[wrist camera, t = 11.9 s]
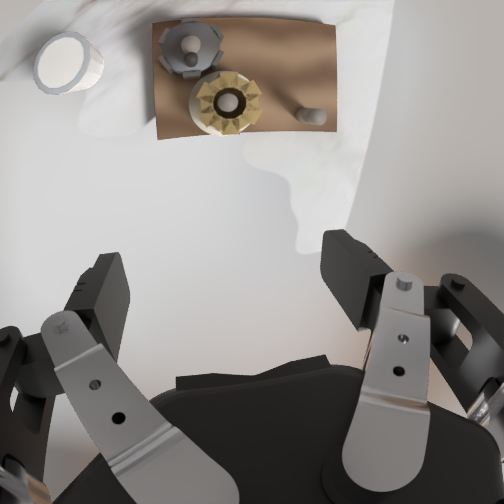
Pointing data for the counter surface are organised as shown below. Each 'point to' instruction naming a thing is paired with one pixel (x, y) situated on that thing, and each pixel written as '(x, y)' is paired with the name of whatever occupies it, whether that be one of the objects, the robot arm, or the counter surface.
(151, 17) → the counter surface
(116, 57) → the counter surface
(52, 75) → the shot glass
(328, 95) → the gear board
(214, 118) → the brass gear
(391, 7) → the counter surface
